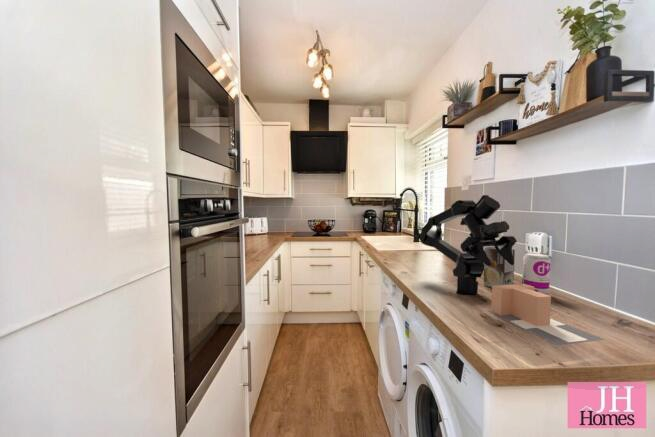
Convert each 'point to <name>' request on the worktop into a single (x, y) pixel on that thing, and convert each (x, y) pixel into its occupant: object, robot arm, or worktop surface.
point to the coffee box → (498, 269)
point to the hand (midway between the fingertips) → (501, 265)
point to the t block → (522, 303)
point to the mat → (552, 330)
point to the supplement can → (537, 272)
